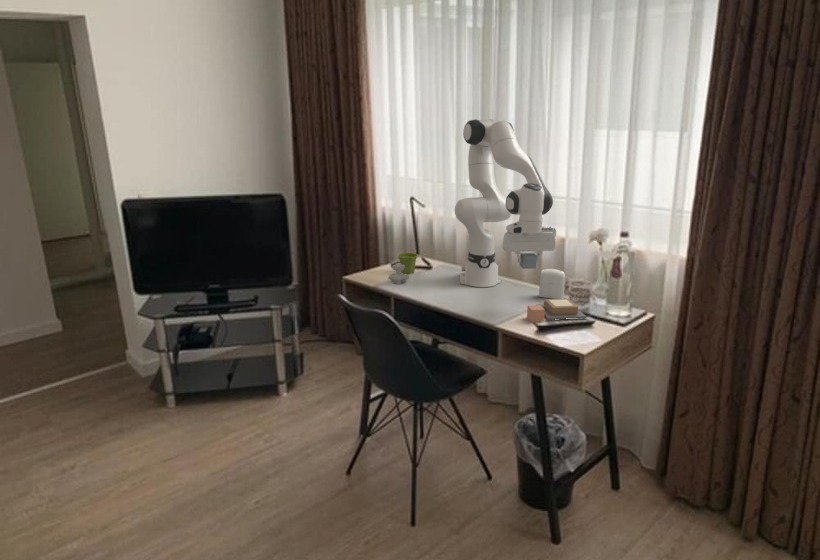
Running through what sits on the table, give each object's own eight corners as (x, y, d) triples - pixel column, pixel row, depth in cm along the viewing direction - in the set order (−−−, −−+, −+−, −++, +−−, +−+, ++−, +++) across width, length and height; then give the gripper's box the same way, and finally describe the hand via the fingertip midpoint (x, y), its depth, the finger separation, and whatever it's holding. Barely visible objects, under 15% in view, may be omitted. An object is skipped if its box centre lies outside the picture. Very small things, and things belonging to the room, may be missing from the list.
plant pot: (407, 276, 280) (407, 258, 278) (393, 272, 287) (393, 254, 284) (421, 272, 286) (421, 255, 284) (408, 268, 293) (408, 251, 290)
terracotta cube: (526, 317, 229) (527, 305, 227) (539, 317, 229) (540, 305, 228) (530, 322, 224) (531, 310, 223) (543, 322, 225) (544, 309, 223)
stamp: (410, 283, 270) (410, 265, 268) (401, 286, 266) (401, 268, 263) (396, 279, 276) (396, 261, 274) (386, 282, 271) (386, 264, 269)
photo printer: (537, 297, 252) (539, 269, 249) (539, 294, 256) (541, 266, 252) (562, 300, 248) (564, 272, 245) (564, 297, 252) (566, 269, 248)
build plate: (535, 307, 240) (536, 297, 239) (571, 306, 242) (572, 296, 240) (548, 320, 226) (548, 309, 225) (586, 319, 227) (587, 308, 226)
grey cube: (519, 265, 235) (520, 253, 233) (532, 265, 235) (532, 252, 234) (523, 268, 230) (524, 256, 229) (535, 268, 230) (536, 255, 229)
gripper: (553, 225, 232) (551, 259, 236) (502, 225, 230) (500, 260, 234) (559, 228, 226) (556, 263, 230) (506, 229, 224) (504, 264, 228)
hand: (528, 262), depth 232 cm, fingers closed on grey cube, 5 cm apart
